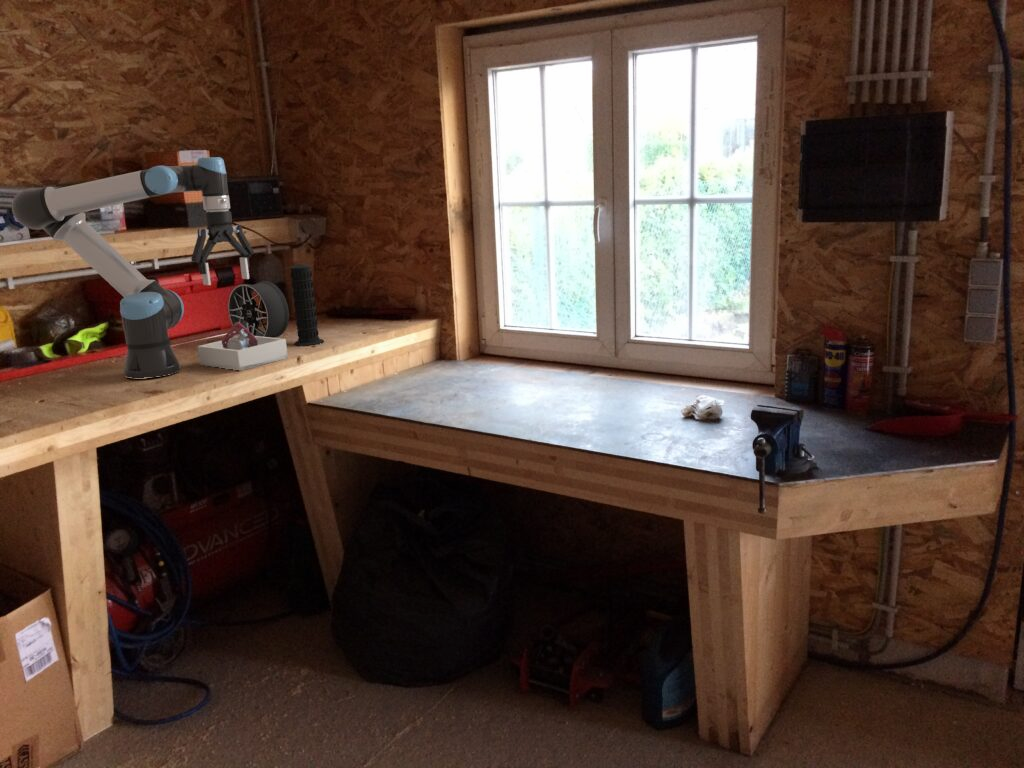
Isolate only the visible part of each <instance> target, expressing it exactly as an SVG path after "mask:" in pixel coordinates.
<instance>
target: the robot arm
mask: <svg viewBox="0 0 1024 768" xmlns="http://www.w3.org/2000/svg"><path fill="white" fill-rule="evenodd" d="M226 170H227V169H226V165H225V161H224V159H223V158H222V157H220V156H217V157H215V156H214V157H213V156H211V157H199V158H197V163H196V164H195V165H194V164H193V165H162V164H161V165H156V166H155V165H154V166H152V167H151V168H146V169H143V170H138V171H133V172H128V173H124V174H118V175H114V176H110V177H109V176H108V177H104V178H101V179H96V180H92V181H91V180H90V181H86V182H81V183H78V184H73V185H69V186H65V187H56V186H43V187H30V188H25V189H22V190H21V191H19V192H18V193H17V194H16V195H15V196H14V198H13V199H12V203H11V212H12V214H13V216H14V219H16V221H17V222H18V223H19V224H21V225H22V226H23V227H25V228H27V229H30V230H43V231H45V233H46V234H48V235H49V236H50V237H51V238H52V239H53V240H54V241H61V242H64V243H65V244H66V245H67V246H68V247H70V249H71V250H73V252H74V253H76V254H77V256H79V257H80V258H81V259H83V260H84V261H85V262H86V264H88V265H89V266H90V267H91V268H92V269H93V270H94V271H95V272H97V274H99V276H101V277H102V279H104V280H105V281H106V282H108V284H109V285H110V286H111V287H112V288H113V289H115V291H117V292H118V293H119V294H120V295H121V296H122V297H123V298H121V300H120V301H119V305H120V306H119V309H120V310H119V313H120V316H121V322H122V327H123V333H124V338H125V343H126V345H125V346H126V350H127V352H126V357H125V358H126V359H125V364H124V369H123V371H124V376H127V377H132V378H144V377H156V376H163V375H168V374H172V373H175V372H177V371H179V370H180V371H181V366H180V363H179V360H178V357H176V354H175V352H174V351H173V349H172V347H171V344H170V337H169V331H168V330H170V329H172V328H174V327H176V325H177V324H179V323H180V322H181V319H182V318H183V316H184V312H185V309H184V306H185V305H184V303H183V300H182V298H181V297H180V296H179V295H178V293H176V292H175V291H172V290H170V289H166V288H164V287H163V286H162V285H161V284H160V283H159V282H158V281H157V280H156V279H147V278H146V277H145V276H144V275H143V274H142V273H141V272H140V271H139V270H138V269H136V267H135V266H133V265H132V264H131V262H129V261H128V260H127V259H126V258H125V257H124V256H123V255H122V254H121V253H119V251H118V250H117V249H116V248H114V246H113V245H111V244H110V243H109V242H108V241H107V240H106V239H105V238H104V237H103V236H102V235H101V234H99V232H97V231H96V230H95V228H93V227H92V226H91V225H90V224H89V223H88V222H87V220H86V213H85V212H89V211H90V212H91V211H93V210H98V209H103V208H108V207H112V206H116V205H120V204H126V203H130V202H134V201H140V200H143V199H148V198H153V197H159V196H162V195H166V194H167V195H168V194H175V193H187V192H201V197H202V205H203V210H204V211H206V212H205V213H204V217H205V224H206V228H198V229H197V237H196V241H195V244H194V249H193V252H192V255H191V258H190V259H191V262H195V263H197V265H198V271H199V274H200V275H202V276H201V277H202V281H203V282H202V283H203V285H204V286H211V285H212V282H211V275H210V267H209V262H206V261H207V260H208V258H209V256H210V254H211V252H212V250H213V249H214V247H215V245H217V244H218V243H219V244H220V243H228V244H230V246H232V248H234V249H235V250H236V251H237V253H238V254H239V255H240V256H241V257H239V264H240V272H241V279H243V280H249V279H250V273H249V272H250V270H249V268H250V267H251V266H250V258H251V257H252V255H254V254H255V250H254V249H253V248H252V246H251V243H250V242H249V241H248V238H247V237H246V236H245V233H244V232H243V226H242V225H238V224H236V225H232V223H233V219H232V218H233V217H232V211H231V210H230V209H231V204H230V203H231V202H230V195H229V187H228V178H227V171H226ZM233 233H234V234H235V236H234V235H233ZM207 236H208V237H207ZM236 237H237V238H236ZM206 239H207V240H206ZM237 239H238V240H237ZM205 242H206V244H205ZM180 371H179V372H180ZM177 373H178V372H177ZM175 374H176V373H175ZM172 375H173V374H172Z"/></svg>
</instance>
